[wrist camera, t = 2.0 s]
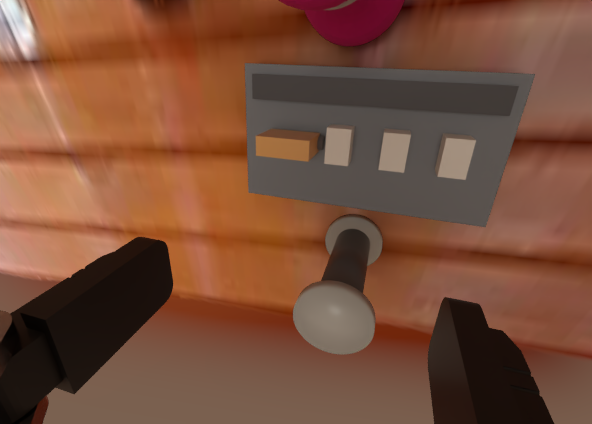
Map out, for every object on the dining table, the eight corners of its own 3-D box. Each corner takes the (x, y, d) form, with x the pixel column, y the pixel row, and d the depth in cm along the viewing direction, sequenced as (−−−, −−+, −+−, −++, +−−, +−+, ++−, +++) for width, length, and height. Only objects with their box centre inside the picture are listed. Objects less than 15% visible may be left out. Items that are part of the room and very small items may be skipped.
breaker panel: (520, 73, 24) (547, 74, 20) (477, 213, 29) (491, 238, 25) (258, 63, 30) (234, 62, 25) (259, 183, 35) (240, 199, 30)
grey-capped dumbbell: (386, 219, 32) (380, 299, 21) (378, 267, 35) (368, 363, 23) (329, 210, 34) (294, 280, 22) (325, 257, 36) (291, 342, 25)
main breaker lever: (325, 132, 27) (314, 141, 24) (324, 150, 28) (313, 162, 24) (269, 127, 28) (251, 135, 25) (269, 145, 29) (251, 155, 26)
